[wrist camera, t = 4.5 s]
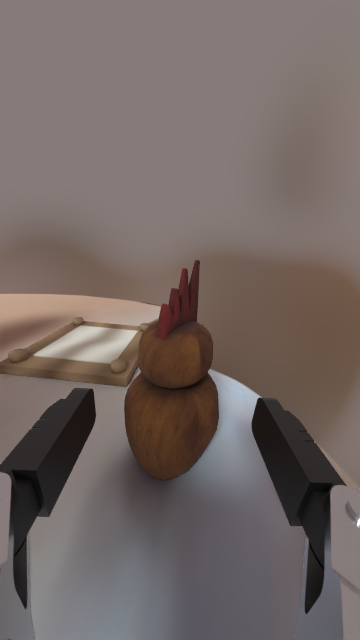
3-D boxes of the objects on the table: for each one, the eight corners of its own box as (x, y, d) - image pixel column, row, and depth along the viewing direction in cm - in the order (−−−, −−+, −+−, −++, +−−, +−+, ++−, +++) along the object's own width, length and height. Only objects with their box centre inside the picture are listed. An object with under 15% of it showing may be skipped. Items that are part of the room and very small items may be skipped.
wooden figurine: (180, 410, 20) (194, 259, 15) (223, 457, 15) (263, 266, 10) (116, 445, 16) (104, 254, 11) (149, 521, 11) (154, 262, 6)
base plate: (-2, 372, 23) (-6, 357, 22) (76, 326, 38) (74, 315, 37) (126, 386, 22) (126, 370, 22) (154, 333, 37) (154, 323, 37)
